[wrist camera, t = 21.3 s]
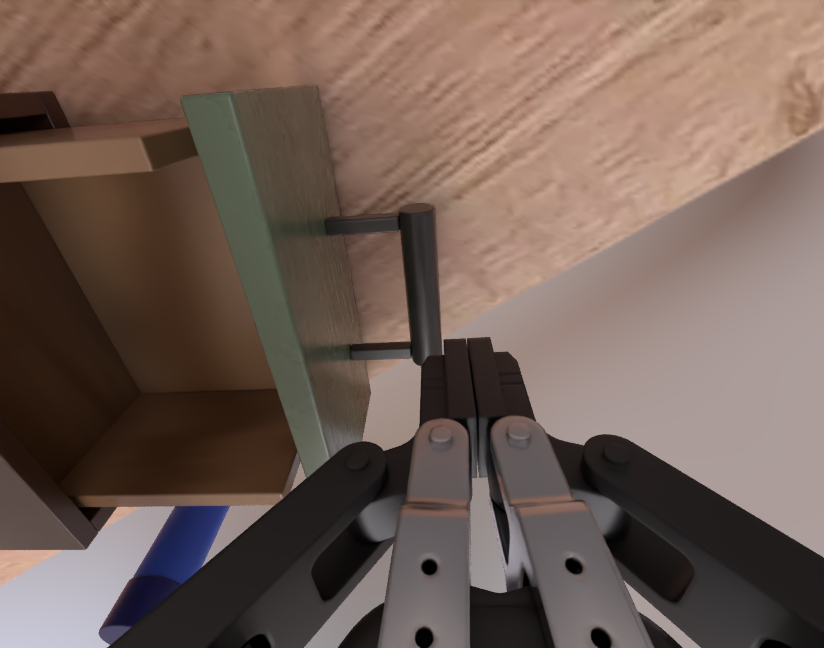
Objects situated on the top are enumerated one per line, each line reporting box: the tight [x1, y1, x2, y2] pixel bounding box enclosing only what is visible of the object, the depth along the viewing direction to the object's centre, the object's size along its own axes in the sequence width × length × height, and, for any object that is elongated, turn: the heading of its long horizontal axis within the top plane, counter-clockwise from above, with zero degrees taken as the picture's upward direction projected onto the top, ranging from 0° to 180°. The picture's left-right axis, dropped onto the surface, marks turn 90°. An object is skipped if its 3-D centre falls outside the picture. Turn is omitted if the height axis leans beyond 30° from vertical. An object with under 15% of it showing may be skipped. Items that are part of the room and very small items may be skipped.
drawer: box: [0, 85, 442, 507], centre depth 16 cm, size 18×15×8 cm
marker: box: [99, 506, 230, 645], centre depth 25 cm, size 3×3×10 cm
